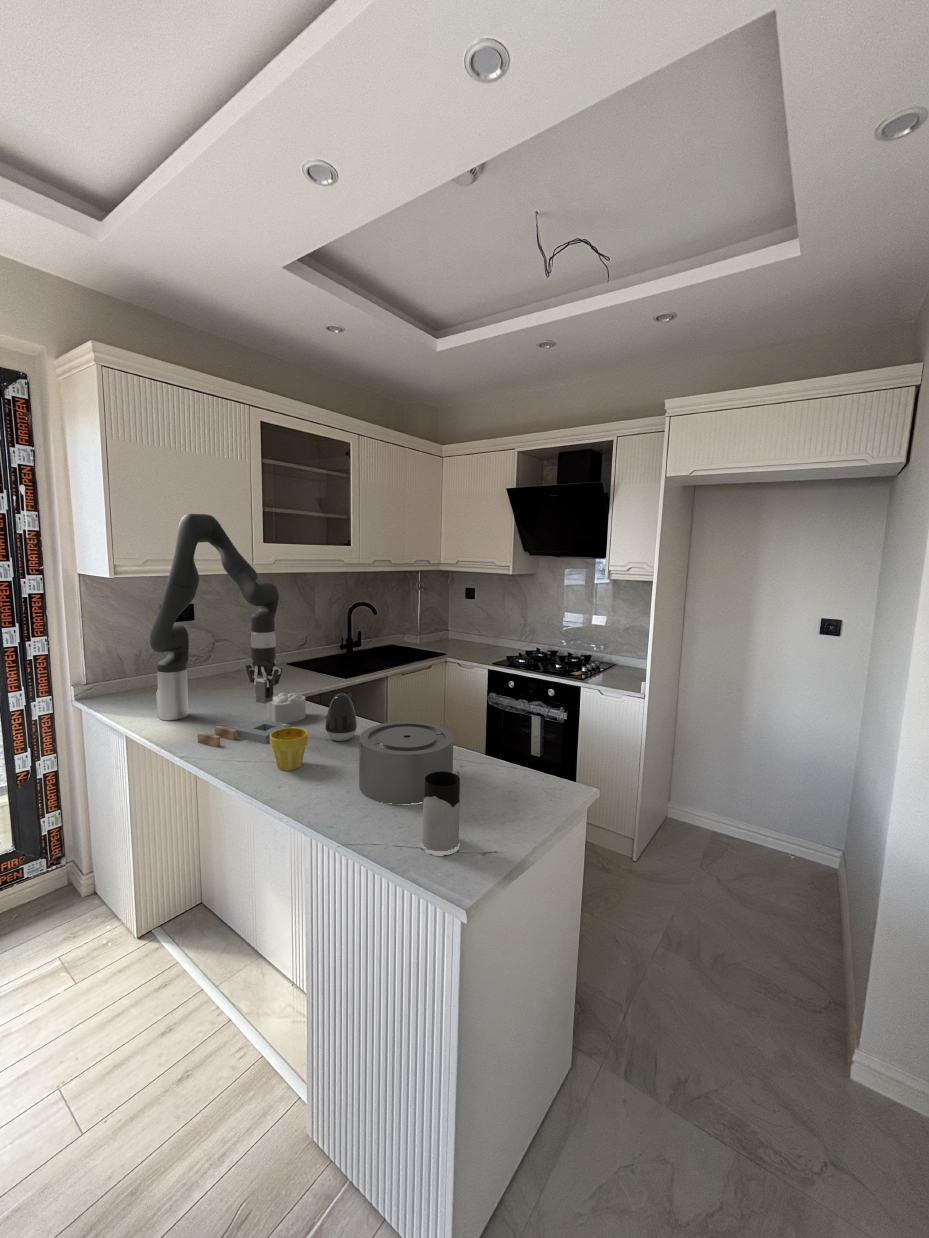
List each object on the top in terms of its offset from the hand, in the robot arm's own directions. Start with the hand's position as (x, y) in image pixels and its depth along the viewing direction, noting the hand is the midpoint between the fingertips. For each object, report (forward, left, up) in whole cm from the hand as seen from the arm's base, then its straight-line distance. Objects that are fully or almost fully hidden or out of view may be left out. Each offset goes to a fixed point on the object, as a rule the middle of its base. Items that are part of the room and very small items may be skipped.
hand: (264, 696), depth 172 cm
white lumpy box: (-5, +17, -13) cm, 22 cm away
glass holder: (+80, -31, -13) cm, 87 cm away
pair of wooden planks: (-9, -11, -13) cm, 19 cm away
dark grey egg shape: (+24, +9, -13) cm, 29 cm away
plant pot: (+24, -16, -13) cm, 32 cm away
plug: (0, 0, -2) cm, 2 cm away
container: (+59, -11, -13) cm, 61 cm away
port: (0, 0, -13) cm, 13 cm away
